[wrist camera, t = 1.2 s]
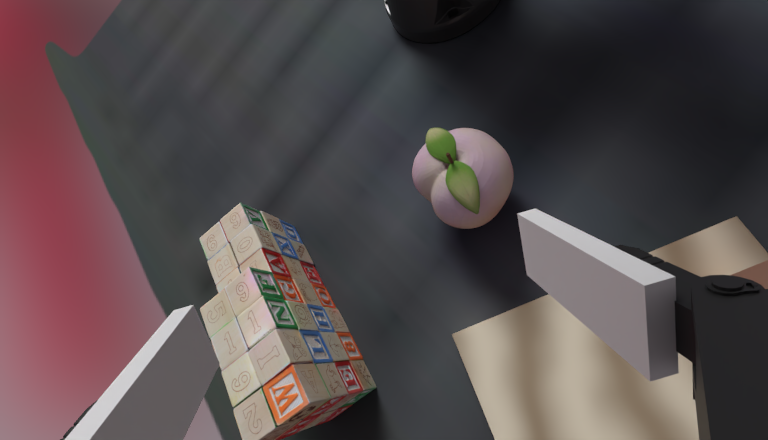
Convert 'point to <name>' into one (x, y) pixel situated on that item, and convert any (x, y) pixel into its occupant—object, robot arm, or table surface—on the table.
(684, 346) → the robot arm
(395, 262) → the table surface
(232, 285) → the stack of blocks
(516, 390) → the board
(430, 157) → the decorative fruit
